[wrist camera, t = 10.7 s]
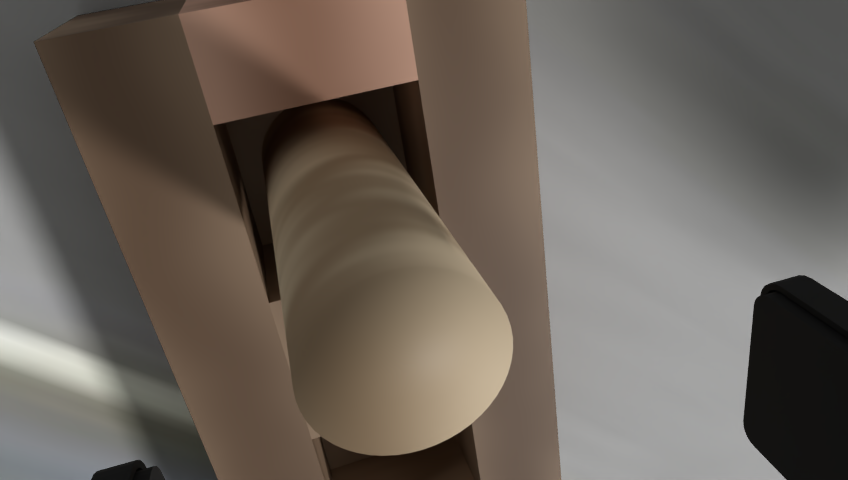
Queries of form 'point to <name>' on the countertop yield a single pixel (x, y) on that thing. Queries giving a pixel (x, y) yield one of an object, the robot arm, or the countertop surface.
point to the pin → (374, 290)
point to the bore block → (249, 214)
